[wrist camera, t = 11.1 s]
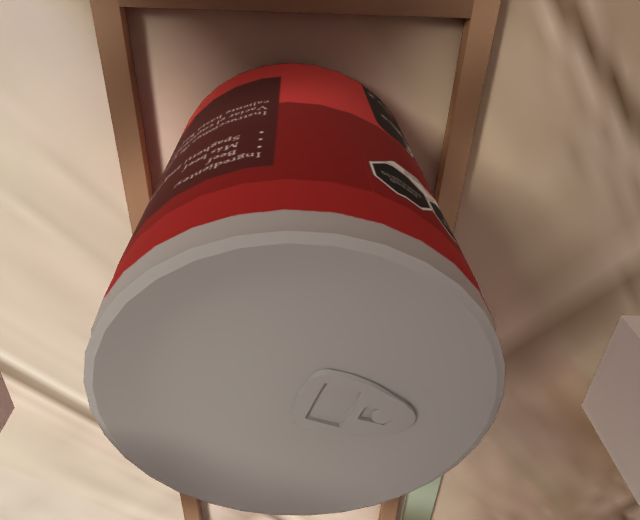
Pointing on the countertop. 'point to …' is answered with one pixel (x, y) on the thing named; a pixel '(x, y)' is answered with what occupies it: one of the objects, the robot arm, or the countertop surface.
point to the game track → (470, 3)
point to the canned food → (293, 310)
